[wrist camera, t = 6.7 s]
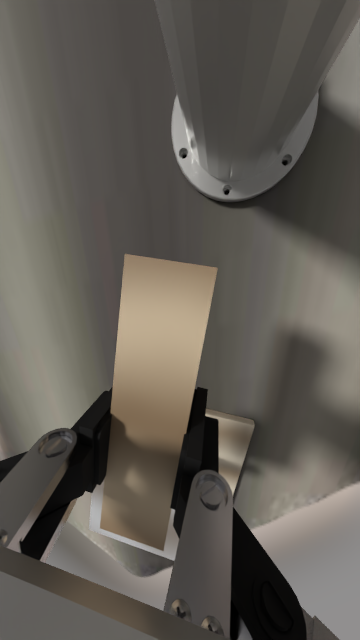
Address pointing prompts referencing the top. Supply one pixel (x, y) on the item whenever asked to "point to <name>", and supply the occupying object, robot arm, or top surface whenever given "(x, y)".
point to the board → (232, 444)
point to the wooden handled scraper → (151, 399)
